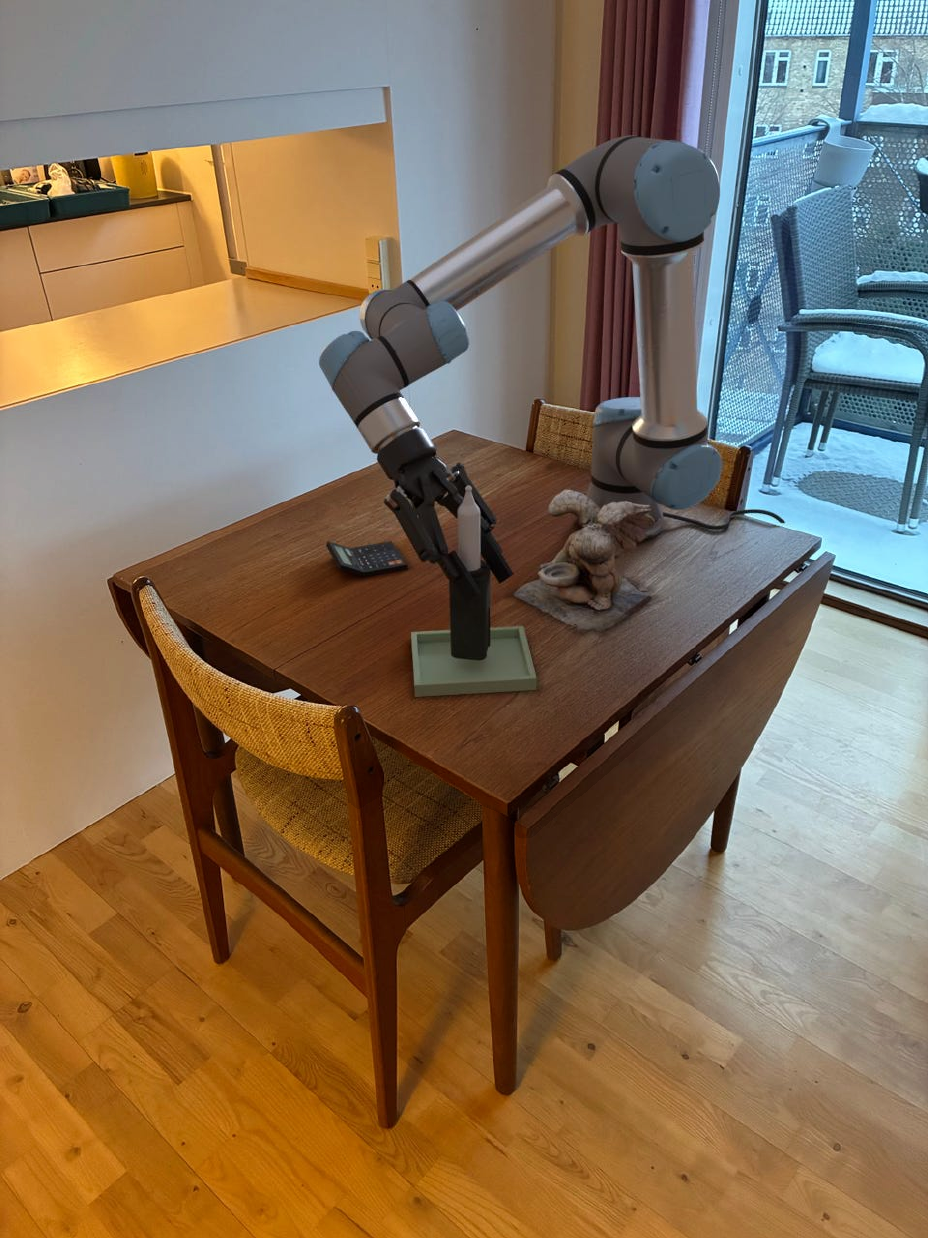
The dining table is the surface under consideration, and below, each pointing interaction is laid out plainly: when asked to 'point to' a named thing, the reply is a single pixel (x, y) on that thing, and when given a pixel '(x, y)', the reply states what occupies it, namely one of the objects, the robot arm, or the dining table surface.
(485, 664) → the tray
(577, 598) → the cherub figurine
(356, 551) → the calculator
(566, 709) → the dining table surface
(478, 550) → the candle
